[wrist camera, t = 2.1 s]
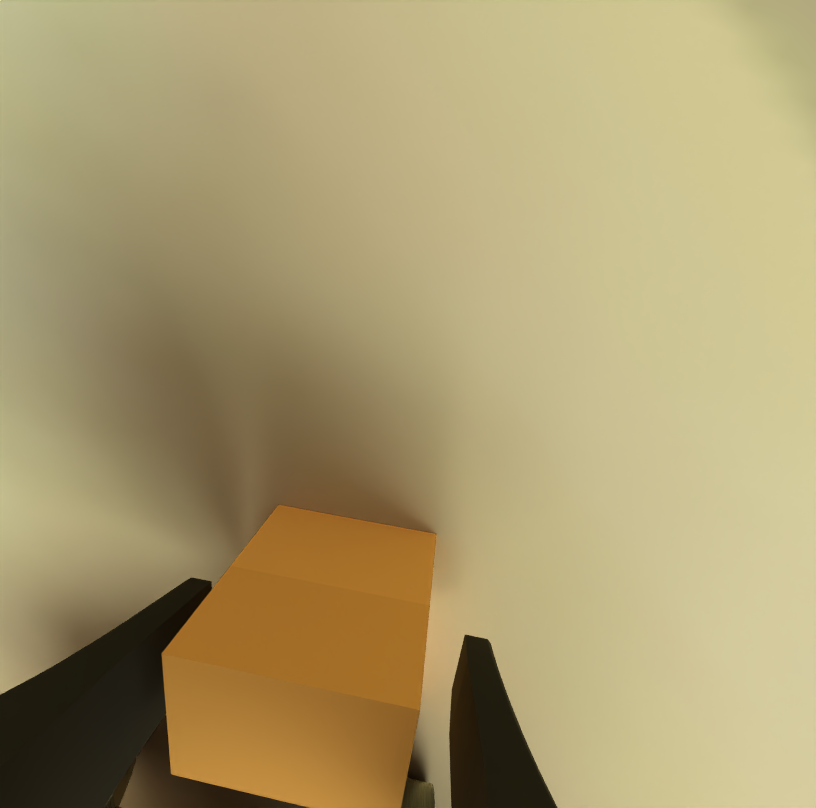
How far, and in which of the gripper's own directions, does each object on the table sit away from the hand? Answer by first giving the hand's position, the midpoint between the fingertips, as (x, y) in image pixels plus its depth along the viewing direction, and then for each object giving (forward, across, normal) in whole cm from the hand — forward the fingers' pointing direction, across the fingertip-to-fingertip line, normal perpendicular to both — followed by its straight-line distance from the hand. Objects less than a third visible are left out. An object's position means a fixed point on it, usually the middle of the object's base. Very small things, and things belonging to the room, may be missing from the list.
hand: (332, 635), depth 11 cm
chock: (+2, 0, +1) cm, 3 cm away
